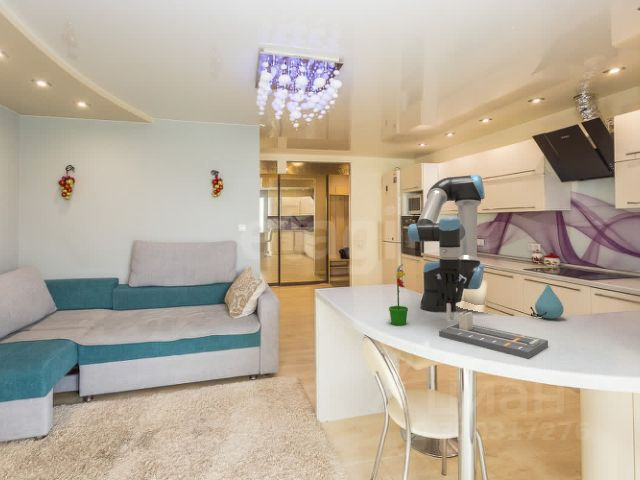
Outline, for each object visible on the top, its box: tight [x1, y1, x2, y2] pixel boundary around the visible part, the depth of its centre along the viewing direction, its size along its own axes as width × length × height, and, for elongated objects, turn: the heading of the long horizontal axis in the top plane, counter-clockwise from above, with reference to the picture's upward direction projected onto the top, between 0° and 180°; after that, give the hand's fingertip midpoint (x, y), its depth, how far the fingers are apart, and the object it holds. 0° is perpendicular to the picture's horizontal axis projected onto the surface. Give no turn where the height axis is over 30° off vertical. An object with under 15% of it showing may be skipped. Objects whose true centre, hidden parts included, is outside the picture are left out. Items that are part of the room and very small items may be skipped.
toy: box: [530, 283, 564, 320], centre depth 149 cm, size 15×12×15 cm
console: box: [438, 323, 549, 360], centre depth 122 cm, size 16×30×3 cm, turn 39°
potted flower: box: [388, 263, 409, 326], centre depth 146 cm, size 9×8×25 cm
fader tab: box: [458, 311, 474, 331], centre depth 129 cm, size 4×3×6 cm
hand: (450, 320), depth 133 cm, fingers closed
